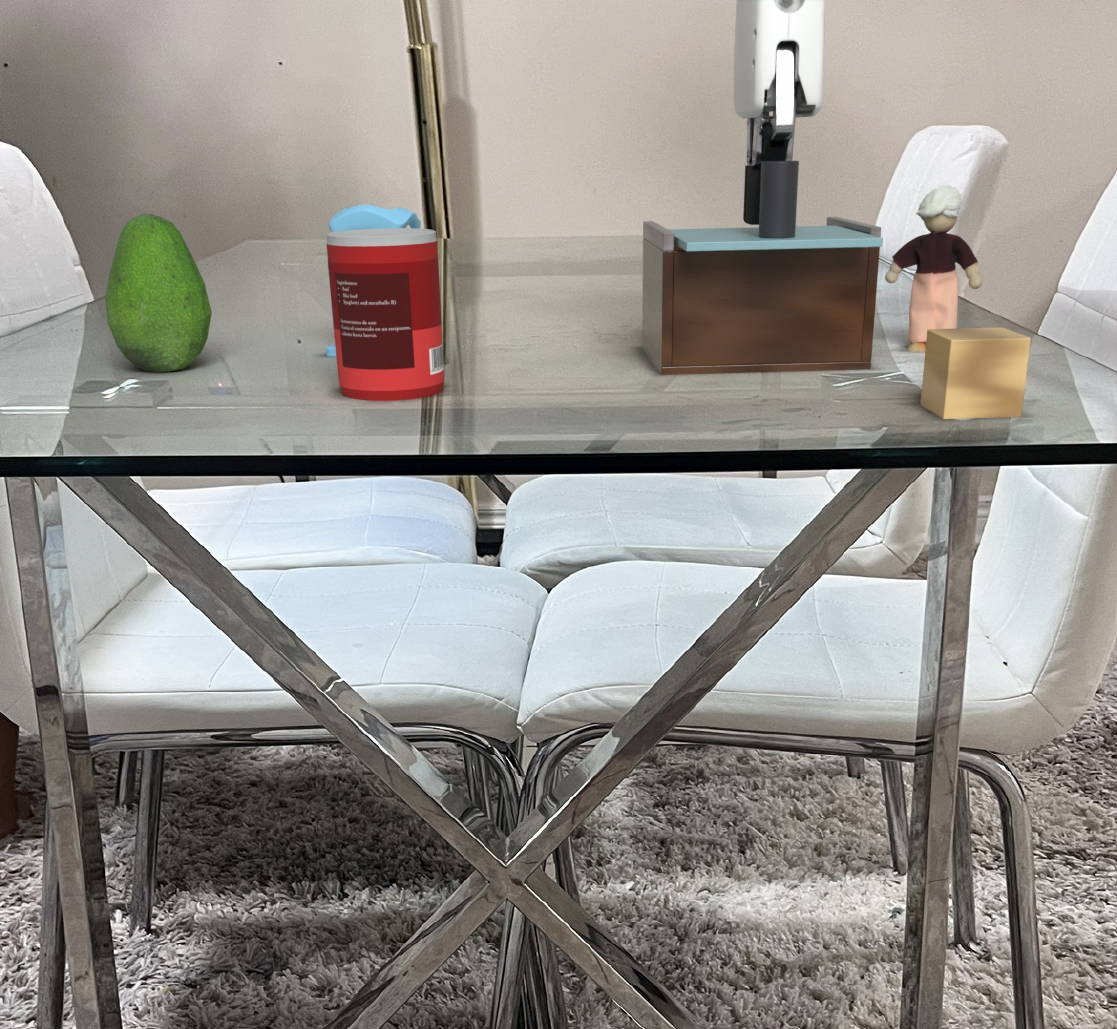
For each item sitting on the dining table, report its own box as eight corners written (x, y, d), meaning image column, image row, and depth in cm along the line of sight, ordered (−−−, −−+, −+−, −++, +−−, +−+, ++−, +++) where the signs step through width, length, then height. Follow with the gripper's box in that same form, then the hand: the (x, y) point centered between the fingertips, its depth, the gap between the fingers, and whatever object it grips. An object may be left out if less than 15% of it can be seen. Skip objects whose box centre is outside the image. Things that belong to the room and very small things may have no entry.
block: (994, 405, 89) (1003, 327, 87) (1021, 420, 84) (1031, 337, 82) (919, 407, 88) (926, 329, 86) (942, 422, 84) (951, 340, 82)
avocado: (185, 382, 103) (163, 215, 98) (97, 379, 105) (71, 216, 100) (235, 366, 110) (217, 210, 105) (151, 363, 112) (129, 210, 107)
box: (828, 345, 114) (836, 216, 110) (870, 372, 102) (881, 227, 97) (642, 350, 114) (643, 221, 110) (661, 377, 101) (663, 232, 97)
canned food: (423, 381, 102) (414, 226, 97) (462, 397, 95) (454, 232, 90) (325, 390, 99) (311, 231, 94) (358, 408, 92) (344, 237, 87)
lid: (835, 233, 106) (840, 156, 104) (882, 247, 94) (889, 159, 91) (662, 237, 106) (663, 160, 103) (686, 251, 93) (688, 164, 91)
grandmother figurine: (975, 349, 111) (993, 184, 105) (974, 356, 107) (992, 186, 102) (881, 347, 113) (893, 184, 107) (876, 354, 109) (889, 187, 104)
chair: (443, 346, 119) (435, 200, 114) (411, 360, 111) (401, 205, 106) (362, 344, 120) (351, 200, 115) (325, 358, 113) (311, 206, 108)
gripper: (860, -80, 85) (839, 229, 92) (809, -51, 98) (795, 217, 106) (742, -78, 85) (732, 231, 92) (708, -49, 98) (701, 219, 106)
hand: (766, 223), depth 99 cm, fingers closed
